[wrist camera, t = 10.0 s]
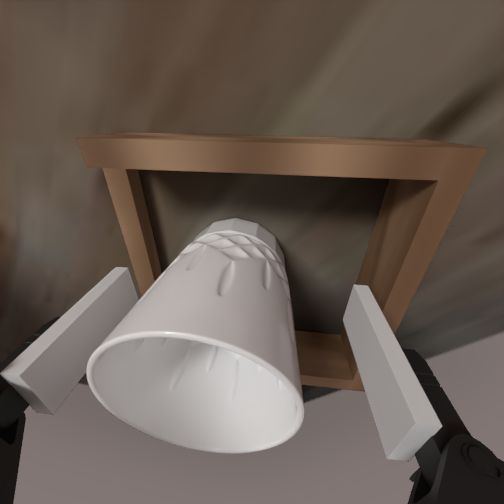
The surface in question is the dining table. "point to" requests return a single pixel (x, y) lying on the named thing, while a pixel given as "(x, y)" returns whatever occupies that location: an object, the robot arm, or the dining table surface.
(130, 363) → the white cup
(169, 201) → the dining table surface
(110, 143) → the bay
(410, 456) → the robot arm
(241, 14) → the dining table surface
